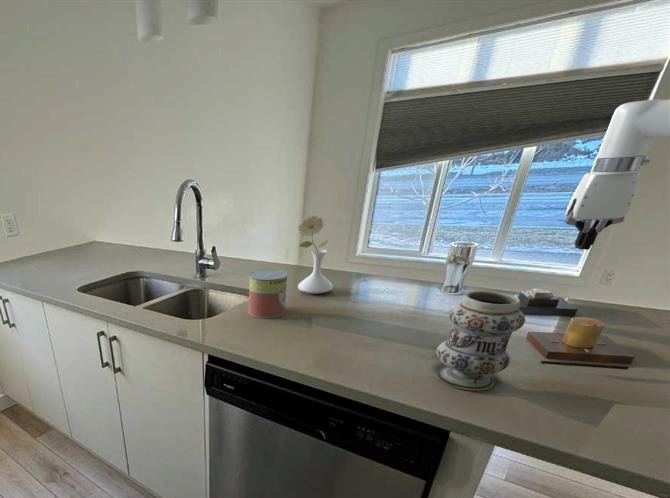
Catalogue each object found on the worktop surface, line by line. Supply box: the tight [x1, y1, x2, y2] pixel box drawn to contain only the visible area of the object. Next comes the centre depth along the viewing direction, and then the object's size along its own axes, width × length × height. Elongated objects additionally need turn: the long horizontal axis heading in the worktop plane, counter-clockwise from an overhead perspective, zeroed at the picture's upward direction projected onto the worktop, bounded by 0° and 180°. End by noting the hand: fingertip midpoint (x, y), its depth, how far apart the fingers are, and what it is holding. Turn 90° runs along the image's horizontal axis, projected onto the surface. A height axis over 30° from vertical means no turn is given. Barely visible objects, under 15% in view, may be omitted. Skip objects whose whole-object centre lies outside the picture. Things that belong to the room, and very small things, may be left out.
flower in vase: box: [297, 215, 334, 295], centre depth 135 cm, size 13×11×25 cm
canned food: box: [247, 268, 289, 319], centre depth 125 cm, size 11×11×12 cm
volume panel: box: [525, 331, 636, 370], centre depth 89 cm, size 14×11×3 cm
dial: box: [562, 316, 606, 348], centre depth 87 cm, size 5×5×5 cm
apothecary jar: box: [435, 290, 526, 392], centre depth 81 cm, size 12×12×18 cm
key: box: [528, 288, 553, 298], centre depth 111 cm, size 4×4×2 cm
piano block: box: [514, 291, 578, 318], centre depth 112 cm, size 14×10×4 cm
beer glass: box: [439, 241, 479, 296], centre depth 126 cm, size 7×7×15 cm
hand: (581, 248), depth 101 cm, fingers closed
